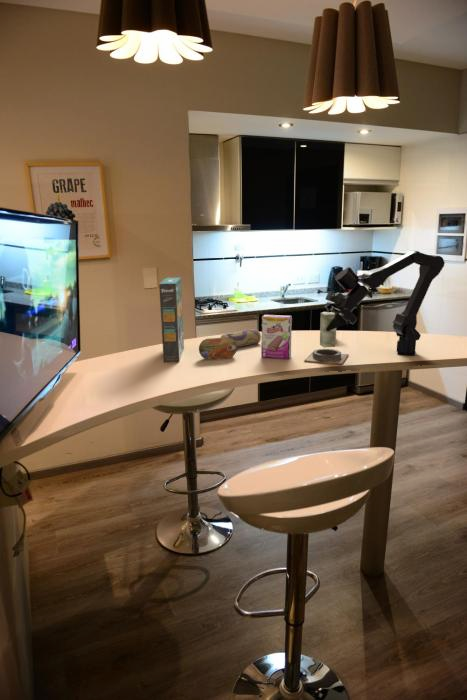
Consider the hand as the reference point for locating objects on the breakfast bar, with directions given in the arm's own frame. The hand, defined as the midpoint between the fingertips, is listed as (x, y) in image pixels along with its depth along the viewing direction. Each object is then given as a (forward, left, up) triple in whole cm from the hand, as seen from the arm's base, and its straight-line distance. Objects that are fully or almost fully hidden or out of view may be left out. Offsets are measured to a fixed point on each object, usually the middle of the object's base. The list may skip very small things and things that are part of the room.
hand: (324, 329), depth 174 cm
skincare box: (+5, -35, -12) cm, 37 cm away
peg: (-1, -1, -7) cm, 7 cm away
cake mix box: (+58, +13, -12) cm, 61 cm away
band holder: (-1, -1, -12) cm, 12 cm away
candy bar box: (+18, +3, -12) cm, 22 cm away
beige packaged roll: (+40, -7, -12) cm, 43 cm away
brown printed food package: (+39, +12, -12) cm, 42 cm away
